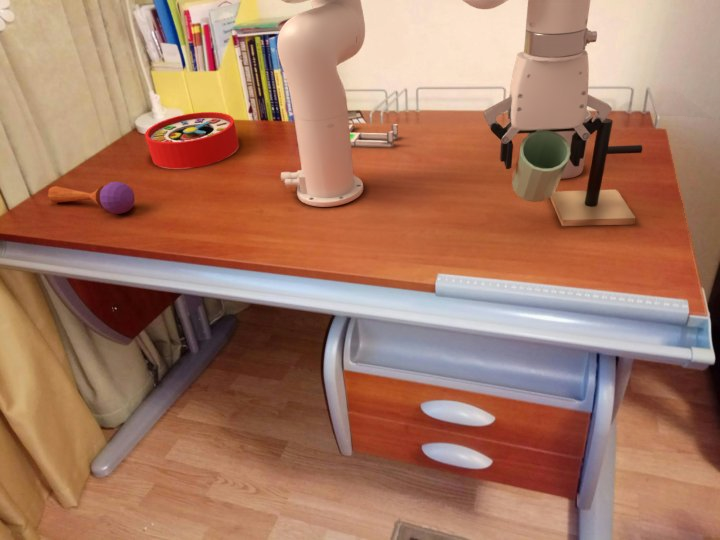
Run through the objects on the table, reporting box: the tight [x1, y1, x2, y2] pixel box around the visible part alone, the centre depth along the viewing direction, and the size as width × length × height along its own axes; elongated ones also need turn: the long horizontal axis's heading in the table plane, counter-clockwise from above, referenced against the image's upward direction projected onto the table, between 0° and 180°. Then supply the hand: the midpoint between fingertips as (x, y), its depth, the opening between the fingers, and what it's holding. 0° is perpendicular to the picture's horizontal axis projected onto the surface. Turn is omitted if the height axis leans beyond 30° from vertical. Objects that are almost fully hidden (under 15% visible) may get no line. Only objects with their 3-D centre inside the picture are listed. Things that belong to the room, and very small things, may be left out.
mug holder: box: [516, 118, 643, 227], centre depth 87 cm, size 19×10×15 cm, turn 85°
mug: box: [556, 109, 592, 180], centre depth 103 cm, size 12×8×11 cm
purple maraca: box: [47, 181, 136, 215], centre depth 106 cm, size 6×6×20 cm
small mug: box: [511, 130, 571, 203], centre depth 83 cm, size 11×7×9 cm
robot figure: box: [349, 123, 399, 149], centre depth 124 cm, size 16×3×22 cm
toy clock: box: [144, 111, 240, 170], centre depth 127 cm, size 20×6×20 cm
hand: (540, 164), depth 82 cm, fingers open, 9 cm apart
